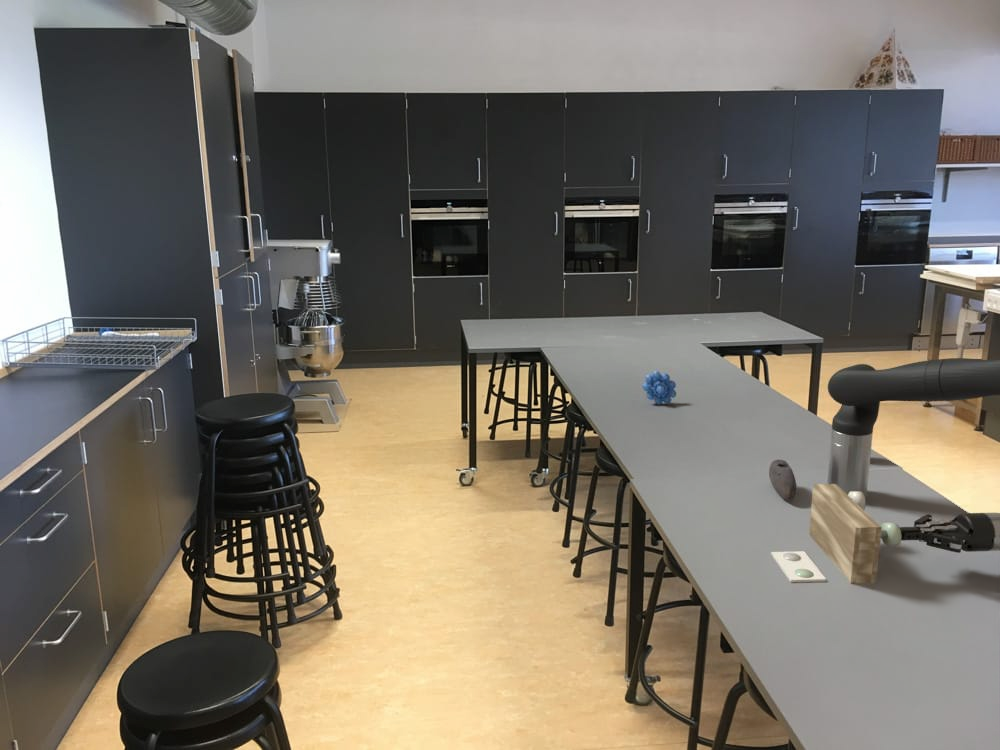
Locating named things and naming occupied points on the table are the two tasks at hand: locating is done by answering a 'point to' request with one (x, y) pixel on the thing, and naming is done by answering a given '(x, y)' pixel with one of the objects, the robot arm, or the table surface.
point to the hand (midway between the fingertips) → (898, 533)
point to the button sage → (891, 534)
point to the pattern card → (798, 567)
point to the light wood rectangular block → (845, 533)
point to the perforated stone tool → (783, 479)
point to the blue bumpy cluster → (659, 388)
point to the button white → (858, 498)
